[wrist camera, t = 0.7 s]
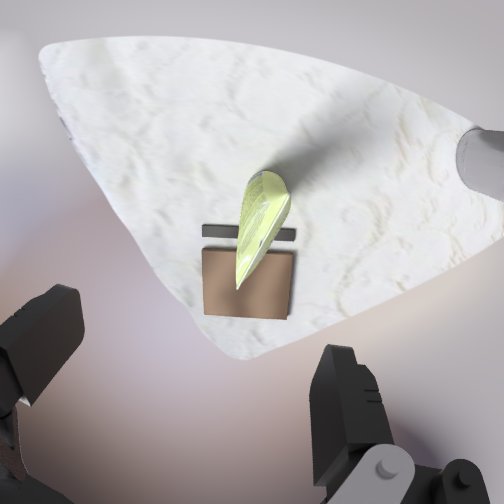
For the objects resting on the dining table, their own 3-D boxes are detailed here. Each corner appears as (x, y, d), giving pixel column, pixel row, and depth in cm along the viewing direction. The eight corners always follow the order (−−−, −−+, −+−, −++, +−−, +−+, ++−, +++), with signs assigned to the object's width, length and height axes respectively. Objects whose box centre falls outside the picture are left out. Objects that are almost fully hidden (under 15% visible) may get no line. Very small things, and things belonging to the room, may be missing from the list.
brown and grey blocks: (294, 229, 39) (294, 231, 39) (286, 316, 44) (286, 319, 44) (202, 225, 40) (201, 226, 39) (205, 311, 45) (204, 314, 44)
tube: (291, 209, 39) (308, 276, 20) (252, 218, 39) (235, 291, 21) (280, 165, 37) (290, 194, 18) (241, 175, 37) (211, 213, 19)
